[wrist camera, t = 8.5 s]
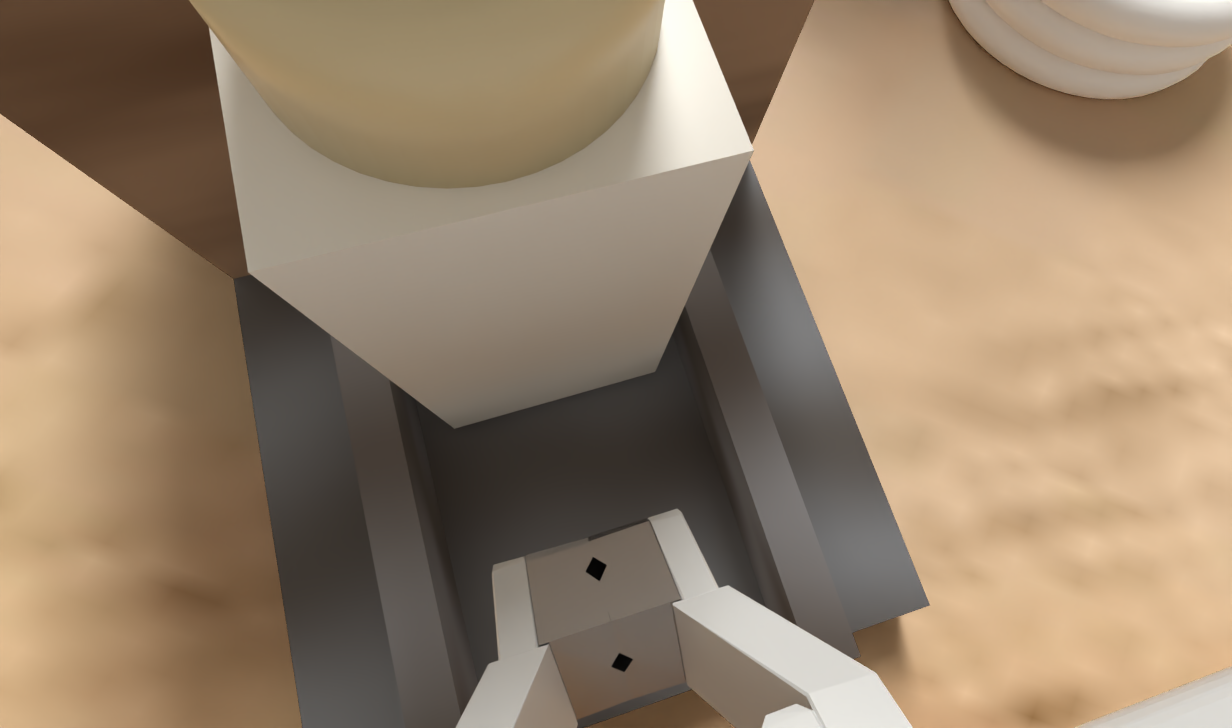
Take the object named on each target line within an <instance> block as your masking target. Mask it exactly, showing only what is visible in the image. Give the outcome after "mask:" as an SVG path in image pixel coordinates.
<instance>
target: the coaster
mask: <svg viewBox="0 0 1232 728" xmlns="http://www.w3.org/2000/svg"><path fill="white" fill-rule="evenodd" d="M949 2H950V4H951V6H952V8H953V11H954V12H955V14H956V15H957V17H958V19H959V20H960V22H961V23H962V25H963V26H964V28H965V29H966V30H967V31H968V32H969V33H970V35H971V36H972V37H973V38H974V39H975V41H976V42H978V43H979V44H980V45H981V46H982V47H983V48H984V49H985V50H986V51H987V52H988V53H989V54H991V55H992V56H993V57H994V58H996V59H997V60H998V61H999V62H1001V63H1002V64H1004V65H1005V66H1007V67H1008V68H1010V69H1011V70H1013V71H1015V72H1016V73H1018V74H1020V75H1022V76H1024V77H1026V78H1028V79H1029V80H1031V81H1033V82H1036V83H1038V84H1041V85H1043V86H1045V87H1048V88H1050V89H1054V90H1057V91H1060V92H1064V93H1067V94H1071V95H1077V96H1082V97H1087V98H1097V99H1128V98H1134V97H1140V96H1145V95H1148V94H1151V93H1154V92H1157V91H1160V90H1163V89H1165V88H1167V87H1169V86H1172V85H1174V84H1176V83H1178V82H1180V81H1182V80H1184V79H1186V78H1187V77H1188V76H1190V75H1191V74H1192V73H1194V72H1195V71H1197V70H1198V69H1199V68H1200V67H1201V66H1202V65H1203V64H1204V63H1205V62H1206V61H1207V59H1209V58H1211V57H1213V56H1215V55H1217V54H1219V53H1220V52H1222V51H1223V50H1225V49H1226V48H1227V47H1229V46H1230V45H1232V0H949Z"/></svg>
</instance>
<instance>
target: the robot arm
mask: <svg viewBox="0 0 1232 728" xmlns="http://www.w3.org/2000/svg"><path fill="white" fill-rule="evenodd" d="M492 584H493V597H494V609H495V622H496V634H497V647H498V661H495V662H492V663H490V664H488V666H487V668H486V670H485V672H484V674H483V675H482V677H481V679H480V681H479V683H478V685H477V687H476V689H475V691H474V693H473V695H472V697H471V699H470V700H469V702H468V704H467V706H466V708H465V710H464V712H463V714H462V716H461V718H460V720H459V722H458V724H457V726H456V727H455V728H577V725H578V723H577V720H578V719H581V718H583V717H586V716H589V715H591V714H594V713H597V712H599V711H602V710H604V709H607V708H610V707H612V706H615V705H618V704H620V703H623V702H626V701H628V700H631V699H634V698H637V697H640V696H644V695H647V694H650V693H653V692H656V691H659V690H663V689H666V688H669V687H672V686H675V685H678V684H682V683H685V682H687V685H688V686H689V687H690V688H691V689H692V690H693V691H695V692H696V693H697V694H698V695H699V696H700V697H701V698H702V699H704V700H705V701H706V702H707V703H708V704H709V705H710V706H711V707H713V708H714V709H715V710H716V711H717V712H718V713H719V714H721V715H722V716H723V717H724V718H725V719H726V720H727V721H728V722H730V723H731V724H732V725H733V726H734V727H735V728H913V727H912V726H911V724H910V723H909V721H908V720H907V718H906V717H905V715H904V714H903V712H902V711H901V709H900V708H899V706H898V705H897V703H896V702H895V700H894V699H893V697H892V696H891V694H890V693H889V691H888V690H887V688H886V687H885V685H884V684H883V682H882V681H881V679H880V678H879V676H878V675H877V673H875V672H874V671H872V670H870V669H869V668H867V667H865V666H864V665H862V664H860V663H859V662H857V661H855V660H854V659H852V658H850V657H848V656H847V655H845V654H843V653H842V652H840V651H838V650H837V649H835V648H833V647H832V646H830V645H828V644H827V643H825V642H823V641H821V640H820V639H818V638H816V637H815V636H813V635H811V634H810V633H808V632H806V631H805V630H803V629H801V628H800V627H798V626H796V625H795V624H793V623H791V622H789V621H788V620H786V619H784V618H783V617H781V616H779V615H778V614H776V613H774V612H773V611H771V610H769V609H768V608H766V607H764V606H762V605H761V604H759V603H757V602H756V601H754V600H752V599H751V598H749V597H747V596H746V595H744V594H742V593H741V592H739V591H737V590H735V589H734V588H732V587H730V586H729V585H727V586H724V587H720V588H719V587H718V585H717V583H716V581H715V579H714V577H713V575H712V573H711V571H710V569H709V567H708V565H707V563H706V561H705V559H704V557H703V555H702V553H701V551H700V549H699V547H698V544H697V542H696V540H695V538H694V536H693V534H692V532H691V530H690V528H689V526H688V524H687V522H686V520H685V518H684V516H683V514H682V512H681V511H680V510H678V509H674V510H671V511H668V512H665V513H661V514H658V515H655V516H652V517H649V518H648V520H647V519H646V518H645V519H642V520H639V521H636V522H633V523H630V524H627V525H624V526H620V527H617V528H614V529H611V530H608V531H605V532H602V533H598V534H595V535H592V536H589V537H587V538H585V539H581V540H577V541H574V542H570V543H567V544H563V545H560V546H556V547H553V548H549V549H545V550H542V551H538V552H535V553H531V554H528V555H526V556H523V557H519V558H516V559H512V560H509V561H505V562H502V563H498V564H494V565H493V570H492ZM630 694H631V695H630ZM1074 728H1232V666H1231V667H1228V668H1226V669H1223V670H1220V671H1218V672H1215V673H1213V674H1210V675H1208V676H1205V677H1202V678H1200V679H1197V680H1195V681H1192V682H1190V683H1187V684H1184V685H1182V686H1179V687H1177V688H1174V689H1172V690H1169V691H1166V692H1164V693H1161V694H1159V695H1156V696H1154V697H1151V698H1148V699H1146V700H1143V701H1141V702H1138V703H1136V704H1133V705H1130V706H1128V707H1125V708H1123V709H1120V710H1118V711H1115V712H1112V713H1110V714H1107V715H1105V716H1102V717H1100V718H1097V719H1094V720H1092V721H1089V722H1087V723H1084V724H1082V725H1079V726H1077V727H1074Z"/></svg>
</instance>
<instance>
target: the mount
mask: <svg viewBox="0 0 1232 728" xmlns="http://www.w3.org/2000/svg"><path fill="white" fill-rule="evenodd" d="M693 3H694V5H695V7H696V10H697V12H698V15H699V17H700V20H701V22H702V25H703V27H704V29H705V32H706V34H707V37H708V39H709V42H710V44H711V47H712V49H713V51H714V54H715V56H716V59H717V61H718V64H719V66H720V69H721V71H722V74H723V76H724V78H725V81H726V83H727V86H728V88H729V91H730V93H731V96H732V98H733V100H734V103H735V105H736V108H737V110H738V113H739V115H740V118H741V120H742V122H743V125H744V127H745V130H746V132H747V135H748V137H749V140H750V142H751V144H752V143H753V141H754V139H755V136H756V134H757V132H758V129H759V127H760V125H761V122H762V120H763V118H764V115H765V113H766V111H767V109H768V106H769V104H770V102H771V99H772V97H773V95H774V92H775V90H776V88H777V86H778V83H779V81H780V79H781V76H782V74H783V72H784V69H785V67H786V65H787V62H788V60H789V58H790V56H791V53H792V51H793V49H794V46H795V44H796V42H797V39H798V37H799V35H800V33H801V30H802V28H803V26H804V23H805V21H806V19H807V16H808V14H809V12H810V9H811V7H812V5H813V3H814V0H693ZM0 114H2V115H3V116H4V117H6V118H7V119H9V120H10V121H11V122H13V123H14V124H16V125H17V126H18V127H20V128H21V129H23V130H24V131H26V132H27V133H28V134H30V135H31V136H33V137H34V138H35V139H37V140H38V141H40V142H41V143H42V144H44V145H45V146H47V147H48V148H50V149H51V150H52V151H54V152H55V153H57V154H58V155H59V156H61V157H62V158H64V159H65V160H66V161H68V162H69V163H71V164H72V165H74V166H75V167H76V168H78V169H79V170H81V171H82V172H83V173H85V174H86V175H88V176H89V177H90V178H92V179H93V180H95V181H96V182H98V183H99V184H100V185H102V186H103V187H105V188H106V189H107V190H109V191H110V192H112V193H113V194H114V195H116V196H117V197H119V198H120V199H122V200H123V201H124V202H126V203H127V204H129V205H130V206H131V207H133V208H134V209H136V210H137V211H138V212H140V213H141V214H143V215H144V216H146V217H147V218H148V219H150V220H151V221H153V222H154V223H155V224H157V225H158V226H160V227H161V228H162V229H164V230H165V231H167V232H168V233H170V234H171V235H172V236H174V237H175V238H177V239H178V240H179V241H181V242H182V243H184V244H185V245H186V246H188V247H189V248H191V249H192V250H194V251H195V252H196V253H198V254H199V255H201V256H202V257H203V258H205V259H206V260H208V261H209V262H210V263H212V264H213V265H215V266H216V267H218V268H219V269H220V270H222V271H223V272H225V273H226V274H227V275H229V276H230V277H232V278H233V279H234V285H235V292H236V298H237V305H238V311H239V318H240V324H241V331H242V337H243V344H244V350H245V357H246V363H247V370H248V376H249V383H250V389H251V396H252V402H253V409H254V415H255V422H256V428H257V435H258V441H259V448H260V454H261V461H262V467H263V474H264V480H265V487H266V493H267V500H268V506H269V513H270V519H271V526H272V532H273V539H274V545H275V552H276V558H277V565H278V571H279V578H280V584H281V591H282V597H283V604H284V610H285V617H286V624H287V630H288V637H289V643H290V650H291V656H292V663H293V669H294V676H295V682H296V689H297V695H298V702H299V708H300V715H301V721H302V728H455V727H456V726H457V724H458V722H459V720H460V718H461V716H462V714H463V712H464V710H465V708H466V706H467V704H468V702H469V700H470V699H471V697H472V695H473V693H474V691H475V689H476V687H477V685H478V683H479V681H480V679H481V677H482V675H483V674H484V672H485V670H486V668H487V666H488V664H490V663H492V662H495V661H498V647H497V634H496V622H495V609H494V597H493V584H492V570H493V565H494V564H498V563H502V562H505V561H509V560H512V559H516V558H519V557H523V556H526V555H528V554H531V553H535V552H538V551H542V550H545V549H549V548H553V547H556V546H560V545H563V544H567V543H570V542H574V541H577V540H581V539H585V538H587V537H589V536H592V535H595V534H598V533H602V532H605V531H608V530H611V529H614V528H617V527H620V526H624V525H627V524H630V523H633V522H636V521H639V520H642V519H645V518H646V519H647V520H648V518H649V517H652V516H655V515H658V514H661V513H665V512H668V511H671V510H674V509H678V510H680V511H681V512H682V514H683V516H684V518H685V520H686V522H687V524H688V526H689V528H690V530H691V532H692V534H693V536H694V538H695V540H696V542H697V544H698V547H699V549H700V551H701V553H702V555H703V557H704V559H705V561H706V563H707V565H708V567H709V569H710V571H711V573H712V575H713V577H714V579H715V581H716V583H717V585H718V587H719V588H720V587H724V586H727V585H729V586H730V587H732V588H734V589H735V590H737V591H739V592H741V593H742V594H744V595H746V596H747V597H749V598H751V599H752V600H754V601H756V602H757V603H759V604H761V605H762V606H764V607H766V608H768V609H769V610H771V611H773V612H774V613H776V614H778V615H779V616H781V617H783V618H784V619H786V620H788V621H789V622H791V623H793V624H795V625H796V626H798V627H800V628H801V629H803V630H805V631H806V632H808V633H810V634H811V635H813V636H815V637H816V638H818V639H820V640H821V641H823V642H825V643H827V644H828V645H830V646H832V647H833V648H835V649H837V650H838V651H840V652H842V653H843V654H845V655H847V656H848V657H850V658H852V659H855V658H858V657H861V655H860V653H859V650H858V647H857V645H856V642H855V639H854V636H853V634H852V633H853V632H856V631H858V630H861V629H864V628H867V627H870V626H873V625H875V624H878V623H881V622H884V621H887V620H890V619H892V618H895V617H898V616H901V615H904V614H906V613H909V612H912V611H915V610H918V609H921V608H923V607H926V606H929V605H930V604H929V602H928V599H927V597H926V594H925V592H924V590H923V587H922V585H921V582H920V580H919V577H918V575H917V572H916V570H915V567H914V565H913V562H912V560H911V557H910V555H909V552H908V550H907V548H906V545H905V543H904V540H903V538H902V535H901V533H900V530H899V528H898V525H897V523H896V520H895V518H894V515H893V513H892V510H891V508H890V506H889V503H888V501H887V498H886V496H885V493H884V491H883V488H882V486H881V483H880V481H879V478H878V476H877V473H876V471H875V468H874V466H873V464H872V461H871V459H870V456H869V454H868V451H867V449H866V446H865V444H864V441H863V439H862V436H861V434H860V431H859V429H858V426H857V424H856V421H855V419H854V417H853V414H852V412H851V409H850V407H849V404H848V402H847V399H846V397H845V394H844V392H843V389H842V387H841V384H840V382H839V379H838V377H837V375H836V372H835V370H834V367H833V365H832V362H831V360H830V357H829V355H828V352H827V350H826V347H825V345H824V342H823V340H822V337H821V335H820V333H819V330H818V328H817V325H816V323H815V320H814V318H813V315H812V313H811V310H810V308H809V305H808V303H807V300H806V298H805V295H804V293H803V291H802V288H801V286H800V283H799V281H798V278H797V276H796V273H795V271H794V268H793V266H792V263H791V261H790V258H789V256H788V253H787V251H786V249H785V246H784V244H783V241H782V239H781V236H780V234H779V231H778V229H777V226H776V224H775V221H774V219H773V216H772V214H771V211H770V209H769V207H768V204H767V202H766V199H765V197H764V194H763V192H762V189H761V187H760V184H759V182H758V179H757V177H756V174H755V172H754V169H753V167H752V165H751V162H750V160H749V163H748V165H747V167H746V169H745V172H744V174H743V176H742V178H741V180H740V183H739V185H738V187H737V189H736V192H735V194H734V196H733V198H732V201H731V203H730V205H729V207H728V210H727V212H726V214H725V216H724V219H723V221H722V223H721V225H720V228H719V230H718V232H717V234H716V237H715V239H714V241H713V243H712V245H711V248H710V250H709V252H708V254H707V257H706V259H705V261H704V263H703V266H702V268H701V270H700V272H699V275H698V277H697V279H696V281H695V284H694V286H693V288H692V290H691V293H690V295H689V297H688V299H687V302H686V304H685V306H684V308H683V311H682V313H681V315H680V317H679V319H678V322H677V324H676V326H675V328H674V331H673V333H672V335H671V337H670V340H669V342H668V344H667V346H666V349H665V351H664V353H663V355H662V358H661V360H660V362H659V364H658V367H657V369H656V371H655V372H653V373H649V374H646V375H642V376H639V377H635V378H632V379H628V380H625V381H621V382H618V383H614V384H611V385H607V386H604V387H600V388H596V389H593V390H589V391H586V392H582V393H579V394H575V395H572V396H568V397H565V398H561V399H558V400H554V401H551V402H547V403H543V404H540V405H536V406H533V407H529V408H526V409H522V410H519V411H515V412H512V413H508V414H505V415H501V416H498V417H494V418H491V419H487V420H483V421H480V422H476V423H473V424H469V425H466V426H462V427H459V428H455V429H454V428H453V427H451V426H450V425H449V424H448V423H446V422H445V421H444V420H442V419H441V418H440V417H438V416H437V415H436V414H434V413H433V412H432V411H430V410H429V409H428V408H426V407H425V406H424V405H422V404H421V403H420V402H418V401H417V400H416V399H415V398H413V397H412V396H411V395H409V394H408V393H407V392H405V391H404V390H403V389H401V388H400V387H399V386H397V385H396V384H395V383H393V382H392V381H391V380H389V379H388V378H387V377H386V376H384V375H383V374H382V373H380V372H379V371H378V370H376V369H375V368H374V367H372V366H371V365H370V364H368V363H367V362H366V361H364V360H363V359H362V358H360V357H359V356H358V355H357V354H355V353H354V352H353V351H351V350H350V349H349V348H347V347H346V346H345V345H343V344H342V343H341V342H339V341H338V340H337V339H335V338H334V337H333V336H331V335H330V334H329V333H327V332H326V331H325V330H324V329H322V328H321V327H320V326H318V325H317V324H316V323H314V322H313V321H312V320H310V319H309V318H308V317H306V316H305V315H304V314H302V313H301V312H300V311H298V310H297V309H296V308H295V307H293V306H292V305H291V304H289V303H288V302H287V301H285V300H284V299H283V298H281V297H280V296H279V295H277V294H276V293H275V292H273V291H272V290H271V289H269V288H268V287H267V286H266V285H264V284H263V283H262V282H260V281H259V280H258V279H256V278H255V277H254V276H252V275H251V274H250V273H248V268H247V262H246V256H245V250H244V243H243V237H242V231H241V225H240V219H239V212H238V206H237V200H236V194H235V187H234V181H233V175H232V169H231V163H230V156H229V150H228V144H227V138H226V131H225V125H224V119H223V113H222V106H221V100H220V94H219V88H218V82H217V75H216V69H215V63H214V57H213V50H212V44H211V38H210V32H209V26H208V25H207V24H206V22H205V21H204V20H203V18H202V17H201V16H200V14H199V13H198V12H197V10H196V9H195V8H194V6H193V5H192V4H191V2H190V1H189V0H0ZM689 690H692V689H691V688H690V687H689V686H688V685H687V682H685V683H682V684H678V685H675V686H672V687H669V688H666V689H663V690H659V691H656V692H653V693H650V694H647V695H644V696H640V697H637V698H634V699H631V700H628V701H626V702H623V703H620V704H618V705H615V706H612V707H610V708H607V709H604V710H602V711H599V712H597V713H594V714H591V715H589V716H586V717H583V718H581V719H578V720H577V723H578V725H577V728H584V727H587V726H590V725H593V724H596V723H598V722H601V721H604V720H607V719H610V718H613V717H615V716H618V715H621V714H624V713H627V712H630V711H632V710H635V709H638V708H641V707H644V706H647V705H649V704H652V703H655V702H658V701H661V700H663V699H666V698H669V697H672V696H675V695H678V694H680V693H683V692H686V691H689ZM630 695H631V694H630Z"/></svg>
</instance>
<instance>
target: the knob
mask: <svg viewBox="0 0 1232 728" xmlns="http://www.w3.org/2000/svg"><path fill="white" fill-rule="evenodd" d="M189 1H190V2H191V4H192V5H193V6H194V8H195V9H196V10H197V12H198V13H199V14H200V16H201V17H202V18H203V20H204V21H205V22H206V24H207V25H208V26H209V32H210V38H211V44H212V50H213V57H214V63H215V69H216V75H217V82H218V88H219V94H220V100H221V106H222V113H223V119H224V125H225V131H226V138H227V144H228V150H229V156H230V163H231V169H232V175H233V181H234V187H235V194H236V200H237V206H238V212H239V219H240V225H241V231H242V237H243V243H244V250H245V256H246V262H247V268H248V273H250V274H251V275H252V276H254V277H255V278H256V279H258V280H259V281H260V282H262V283H263V284H264V285H266V286H267V287H268V288H269V289H271V290H272V291H273V292H275V293H276V294H277V295H279V296H280V297H281V298H283V299H284V300H285V301H287V302H288V303H289V304H291V305H292V306H293V307H295V308H296V309H297V310H298V311H300V312H301V313H302V314H304V315H305V316H306V317H308V318H309V319H310V320H312V321H313V322H314V323H316V324H317V325H318V326H320V327H321V328H322V329H324V330H325V331H326V332H327V333H329V334H330V335H331V336H333V337H334V338H335V339H337V340H338V341H339V342H341V343H342V344H343V345H345V346H346V347H347V348H349V349H350V350H351V351H353V352H354V353H355V354H357V355H358V356H359V357H360V358H362V359H363V360H364V361H366V362H367V363H368V364H370V365H371V366H372V367H374V368H375V369H376V370H378V371H379V372H380V373H382V374H383V375H384V376H386V377H387V378H388V379H389V380H391V381H392V382H393V383H395V384H396V385H397V386H399V387H400V388H401V389H403V390H404V391H405V392H407V393H408V394H409V395H411V396H412V397H413V398H415V399H416V400H417V401H418V402H420V403H421V404H422V405H424V406H425V407H426V408H428V409H429V410H430V411H432V412H433V413H434V414H436V415H437V416H438V417H440V418H441V419H442V420H444V421H445V422H446V423H448V424H449V425H450V426H451V427H453V428H454V429H455V428H459V427H462V426H466V425H469V424H473V423H476V422H480V421H483V420H487V419H491V418H494V417H498V416H501V415H505V414H508V413H512V412H515V411H519V410H522V409H526V408H529V407H533V406H536V405H540V404H543V403H547V402H551V401H554V400H558V399H561V398H565V397H568V396H572V395H575V394H579V393H582V392H586V391H589V390H593V389H596V388H600V387H604V386H607V385H611V384H614V383H618V382H621V381H625V380H628V379H632V378H635V377H639V376H642V375H646V374H649V373H653V372H655V371H656V369H657V367H658V364H659V362H660V360H661V358H662V355H663V353H664V351H665V349H666V346H667V344H668V342H669V340H670V337H671V335H672V333H673V331H674V328H675V326H676V324H677V322H678V319H679V317H680V315H681V313H682V311H683V308H684V306H685V304H686V302H687V299H688V297H689V295H690V293H691V290H692V288H693V286H694V284H695V281H696V279H697V277H698V275H699V272H700V270H701V268H702V266H703V263H704V261H705V259H706V257H707V254H708V252H709V250H710V248H711V245H712V243H713V241H714V239H715V237H716V234H717V232H718V230H719V228H720V225H721V223H722V221H723V219H724V216H725V214H726V212H727V210H728V207H729V205H730V203H731V201H732V198H733V196H734V194H735V192H736V189H737V187H738V185H739V183H740V180H741V178H742V176H743V174H744V172H745V169H746V167H747V165H748V163H749V160H750V158H751V156H752V154H753V151H754V149H753V147H752V144H751V142H750V140H749V137H748V135H747V132H746V130H745V127H744V125H743V122H742V120H741V118H740V115H739V113H738V110H737V108H736V105H735V103H734V100H733V98H732V96H731V93H730V91H729V88H728V86H727V83H726V81H725V78H724V76H723V74H722V71H721V69H720V66H719V64H718V61H717V59H716V56H715V54H714V51H713V49H712V47H711V44H710V42H709V39H708V37H707V34H706V32H705V29H704V27H703V25H702V22H701V20H700V17H699V15H698V12H697V10H696V7H695V5H694V3H693V0H189Z"/></svg>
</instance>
